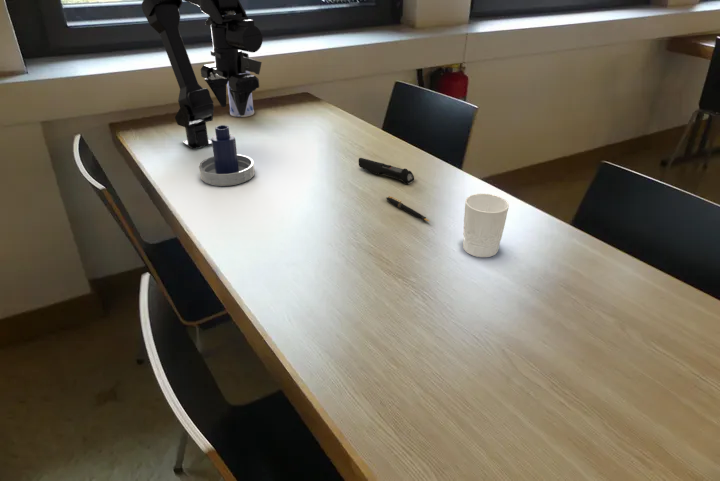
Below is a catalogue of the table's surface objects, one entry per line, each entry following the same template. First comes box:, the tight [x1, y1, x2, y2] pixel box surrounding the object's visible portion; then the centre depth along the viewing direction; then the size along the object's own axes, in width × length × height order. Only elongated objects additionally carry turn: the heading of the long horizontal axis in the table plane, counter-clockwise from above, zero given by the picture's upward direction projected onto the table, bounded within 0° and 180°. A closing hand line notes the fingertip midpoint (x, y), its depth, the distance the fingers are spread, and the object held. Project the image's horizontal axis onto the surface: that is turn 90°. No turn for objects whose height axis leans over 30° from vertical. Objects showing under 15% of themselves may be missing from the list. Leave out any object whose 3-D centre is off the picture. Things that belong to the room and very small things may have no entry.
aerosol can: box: [226, 71, 255, 118], centre depth 170 cm, size 8×8×20 cm
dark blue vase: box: [210, 124, 239, 174], centre depth 129 cm, size 6×6×12 cm
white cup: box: [462, 193, 510, 258], centre depth 101 cm, size 8×8×10 cm
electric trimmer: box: [358, 157, 415, 185], centre depth 133 cm, size 4×16×3 cm, turn 54°
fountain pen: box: [385, 195, 430, 222], centre depth 116 cm, size 14×1×2 cm, turn 38°
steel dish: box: [198, 153, 256, 187], centre depth 131 cm, size 13×13×3 cm
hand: (233, 111), depth 135 cm, fingers open, 9 cm apart
